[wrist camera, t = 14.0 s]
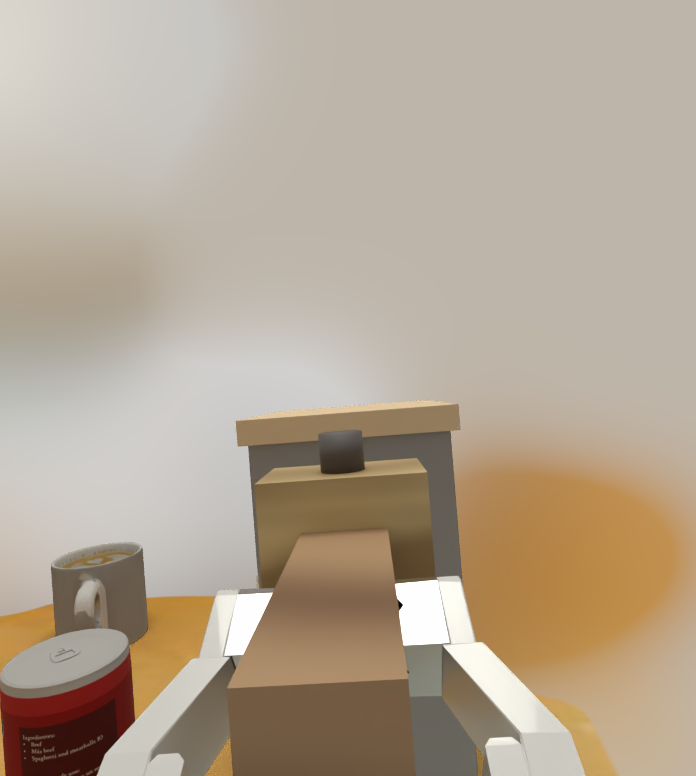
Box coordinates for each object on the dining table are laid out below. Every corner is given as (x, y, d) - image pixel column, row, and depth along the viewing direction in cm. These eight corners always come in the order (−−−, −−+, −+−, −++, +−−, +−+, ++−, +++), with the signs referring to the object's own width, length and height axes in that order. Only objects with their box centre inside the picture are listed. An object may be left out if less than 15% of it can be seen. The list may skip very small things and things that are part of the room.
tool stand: (494, 858, 28) (458, 403, 29) (269, 867, 29) (235, 420, 29) (450, 697, 43) (427, 400, 44) (302, 705, 44) (280, 411, 44)
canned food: (91, 762, 39) (81, 620, 39) (165, 792, 35) (154, 636, 35) (-17, 844, 32) (-29, 673, 32) (61, 892, 28) (47, 698, 29)
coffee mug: (81, 622, 65) (76, 546, 65) (158, 614, 66) (153, 538, 66) (20, 680, 52) (13, 584, 52) (118, 670, 52) (111, 575, 53)
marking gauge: (516, 860, 7) (484, 473, 7) (150, 874, 7) (124, 499, 7) (406, 511, 26) (398, 412, 26) (312, 517, 26) (304, 419, 26)
